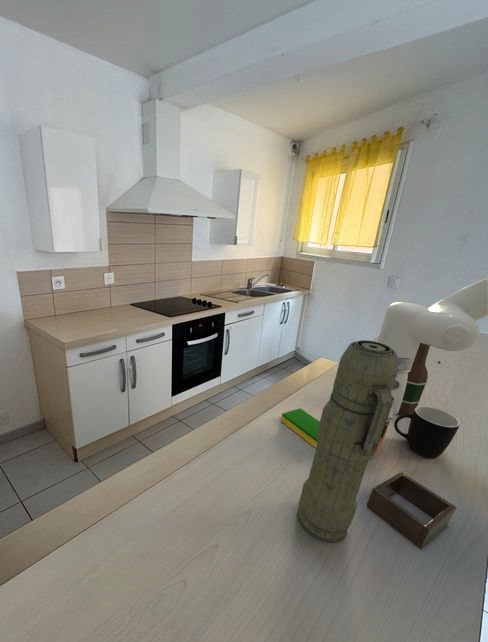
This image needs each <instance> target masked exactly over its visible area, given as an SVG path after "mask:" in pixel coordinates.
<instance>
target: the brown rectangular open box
mask: <svg viewBox="0 0 488 642" xmlns="http://www.w3.org/2000/svg"><path fill="white" fill-rule="evenodd" d="M395 493H397V494H398V495H400V496H401V497H402V498H404V499H405V500H407V501H408V502H410V503H411V504H413V505H414V506H416V507H417V508H419V509H420V510H421V511H423V512H424V513H426V514H427V515H429V516H430V517H432V518H433V519H431V520H430V521H429V522H427V523H426V522H424V521H422V520H421V519H420V518H418V517H417V516H415V515H414V514H413V513H411V512H410V511H408V510H407V509H406V508H404V506H401V505H400V503H397V502H396V501H395V500H393V499H392V498H390V496H392V495H393V494H395ZM366 507H367V508H368V509H370V511H372V512H373V513H375V514H376V515H377V516H378V517H380V518H381V519H383V520H384V521H385V522H386V523H388V524H389V525H390V526H391V527H393V528H394V529H395V530H396V531H398V532H399V533H400V534H402V535H403V536H404V537H405V538H407V539H408V540H409V541H410V542H412V543H413V544H415V545H416V546H417V547H418V548H419V549H422V548H423V547H424V546H426V544H428V543H429V542H430V541H431V540H432V539H433V538H435V537H436V535H438V534H439V533H440V532H441V531H442V530H443V529H445V528H446V527H447V526H448V525H449V523H450V522H451V519H452V518H453V515H454V513H455V511H456V509H457V506H455V505H454V504H452V503H451V502H449V501H448V500H446V499H445V498H443V497H442V496H440V495H438V494H437V493H436V492H433V491H432V490H430V489H429V488H427V487H425V486H424V485H423V484H421V483H419V482H418V481H416V480H414V479H413V478H411V477H410V476H408V475H407V474H405V473H404V472H402V471H399V472H398V473H396V474H395V475H393V476H391V477H390V478H388V479H387V480H386V479H385V481H383V482H381V483H380V484H378V485H377V486H375V487H373V488H372V489H371V492H370V495H369V498H368V500H367V503H366Z"/></svg>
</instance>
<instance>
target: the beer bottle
mask: <svg viewBox="0 0 488 642" xmlns="http://www.w3.org/2000/svg"><path fill="white" fill-rule="evenodd" d="M430 348H431V346H430V345H427V344H423V343H420V345H419V348H418V351H417V353H416V356H415V359H414V362H413V364H412V367H411V370H410V372H407V373H408V377H407V383H406V388H405V392H404V396H403V399H402V402H401V406H400V409H399V412H398V413H397V414H396V415H399V416H401V415H404V414H412V413H413V412H414V410H415V408H416V407H418V406H419V403H420V400H421V398H422V395H423V392H424V389H425V388H426V384H427V382H428V379H429V374H428V373H429V372H428V369H427V366H426V363H427V358H428V355H429V351H430Z"/></svg>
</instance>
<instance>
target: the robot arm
mask: <svg viewBox="0 0 488 642" xmlns="http://www.w3.org/2000/svg"><path fill="white" fill-rule="evenodd" d="M485 317H488V277H486V278H484V279H481V280H478V281H475V282H473V283H472V284H469V285H466V286H465V287H462V288H461V289H459V290H456V291H455V292H453V293H452V294H450V295H448V296H446V297H444V298H442V299H441V300H439V301H437V302H436V303H434V304H433V305H431V306H430V307H429V308H428V307H426V306H424V305H421V304H417V303H413V302H405V301H396V302H393V303H391V304H390V305H389V306H388V307H387V310H386V312H385V315H384V319H383V321H382V325H381V329H380V331H379V335H378V338H377V341H376V342H378V343H382V344H385V345H387V346H389V347H390V348H392V349H393V350H394V351H395V352H396V353H397V365H398V373H397V376H396V379H395V382H394V385H393V388H392V391H391V396H392V403H393V404H392V407H391V410H390V413H389V416H388V418H387V421H386V424H385V427H384V430H383V433H382V436H381V438H383V435H384V432H385V429H386V426H387V425H388V423H389V424H390V423H391V421H393V420H394V415H398V414H397V413H398V412H399V409H400V406H401V402H402V399H403V396H404V392H405V388H406V383H407V377H408V373H407V372H410V370H411V367H412V364H413V362H414V359H415V356H416V353H417V351H418V348H419V345H420V343H423V344H427V345H430V347H433V348H436V349H439V350H443V351H447V352H460V351H464V350H467V349H470V348H472V346H474V345H475V344H476V343H477V341H478V340H479V338H480V334H481V330H480V327H479V324H478V322H477V321H479V320H481V319H483V318H485ZM388 426H389V425H388Z"/></svg>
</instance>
